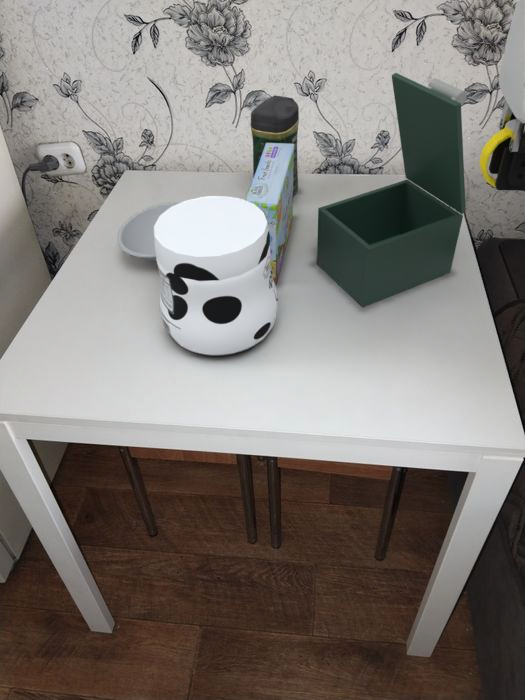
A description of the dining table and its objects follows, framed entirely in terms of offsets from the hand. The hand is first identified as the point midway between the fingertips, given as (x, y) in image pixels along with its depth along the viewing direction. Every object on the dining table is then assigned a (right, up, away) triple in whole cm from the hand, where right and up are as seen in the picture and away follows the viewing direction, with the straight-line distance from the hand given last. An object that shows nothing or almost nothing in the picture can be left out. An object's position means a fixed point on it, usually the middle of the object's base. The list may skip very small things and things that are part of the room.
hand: (508, 179), depth 57 cm
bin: (-4, -3, +42) cm, 43 cm away
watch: (0, -1, +1) cm, 1 cm away
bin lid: (+1, +14, +30) cm, 33 cm away
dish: (-41, +1, +48) cm, 63 cm away
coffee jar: (-21, +14, +61) cm, 66 cm away
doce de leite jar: (-30, -13, +33) cm, 47 cm away
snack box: (-22, +1, +48) cm, 53 cm away
